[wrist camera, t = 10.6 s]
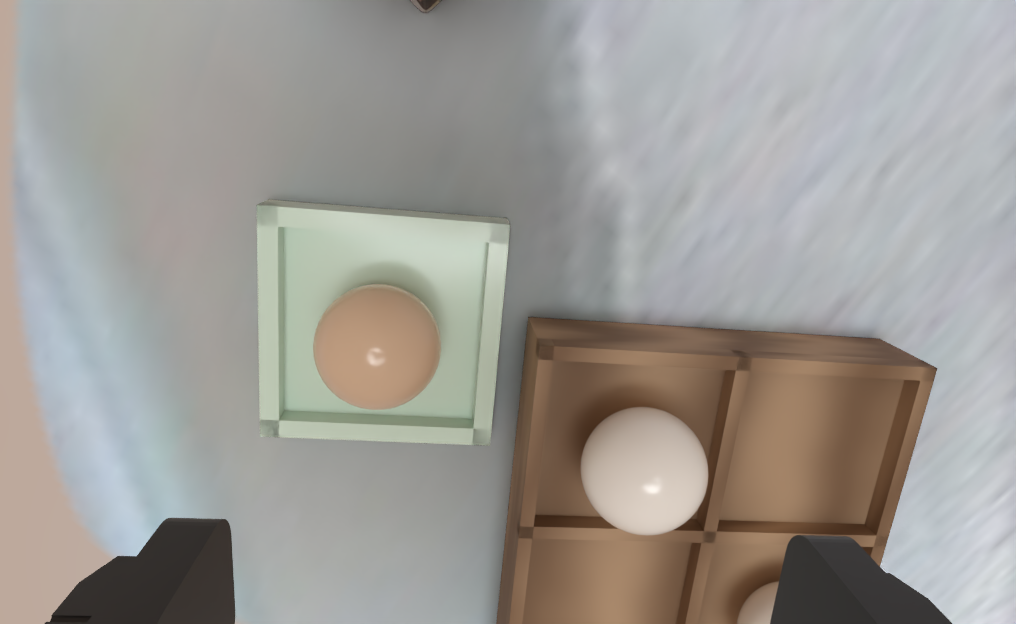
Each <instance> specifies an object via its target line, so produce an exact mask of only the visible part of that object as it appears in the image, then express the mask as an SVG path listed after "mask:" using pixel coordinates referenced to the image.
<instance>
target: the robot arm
mask: <svg viewBox="0 0 1016 624" xmlns="http://www.w3.org/2000/svg"><path fill="white" fill-rule="evenodd" d="M45 624H235V599H234V580H233V560H232V541H231V530H230V525H229V523H228V521H227V520H226V519H195V518H168V519H166V520H164V521H163V522H162V524H161V525H160V526H159V527H158V529H157V530H156V531H155V533H154V534H153V535H152V537H151V538H150V539H149V541H148V542H147V543H146V545H145V546H144V547H143V549H142V550H141V551H140V553H139V554H138V555H137V556H117V557H116V558H114V559H113V560H112V561H110V562H109V563H107V564H106V565H104V566H103V567H101V568H100V569H98V570H97V571H95V572H94V573H93V574H91V575H89V576H88V577H87V578H85V579H84V580H82V581H81V582H79V583H78V584H77V586H76V587H75V588H74V589H73V590H72V592H71V593H70V594H69V595H68V597H67V598H66V599H65V600H64V601H63V602H62V604H61V605H60V606H59V607H58V609H57V610H56V611H55V612H54V613H53V615H52V618H51V621H50V622H46V623H45ZM770 624H952V623H951V622H950V621H949V620H948V619H947V618H946V617H945V616H944V615H943V614H942V613H941V612H940V611H939V609H938V608H937V607H936V606H935V605H934V604H933V603H932V602H931V601H930V600H929V599H928V598H926V597H925V596H923V595H922V594H920V593H919V592H917V591H916V590H914V589H913V588H911V587H910V586H908V585H907V584H905V583H904V582H902V581H901V580H899V579H898V578H896V577H895V576H893V575H892V574H890V573H885V572H884V571H883V570H882V569H881V568H880V567H879V565H878V564H877V563H876V562H875V561H874V560H873V559H872V558H871V557H870V556H869V555H868V554H867V553H866V551H865V550H864V549H863V548H862V547H861V546H860V545H859V544H858V543H857V542H856V541H855V540H854V539H852V538H850V537H847V536H818V535H796V536H794V537H792V538H791V540H790V541H789V543H788V545H787V548H786V552H785V557H784V561H783V566H782V570H781V575H780V579H779V584H778V589H777V593H776V598H775V602H774V607H773V611H772V616H771V621H770Z"/></svg>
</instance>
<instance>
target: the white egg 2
mask: <svg viewBox="0 0 1016 624" xmlns="http://www.w3.org/2000/svg"><path fill="white" fill-rule="evenodd" d="M778 584H779V581H777V582H772V583H769V584H766V585H764V586H762V587H760V588H758V589H757V590H755V591H754V592H753V593H752V594H751V595H750V596H749V597H748V598H747V599H746V601H745V602H744V604H743V606H742V607H741V610H740V612H739V616H738V619H737V624H770V621H771V616H772V611H773V607H774V602H775V598H776V593H777V589H778Z"/></svg>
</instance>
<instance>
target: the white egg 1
mask: <svg viewBox="0 0 1016 624" xmlns="http://www.w3.org/2000/svg"><path fill="white" fill-rule="evenodd" d="M581 479H582V483H583V487H584V490H585V493H586V495H587V497H588V499H589V501H590V503H591V505H592V506H593V507H594V509H595V510H596V511H597V512H598V513H599V515H600V516H601V517H602V518H604V519H605V520H606V521H607V522H609V523H610V524H611V525H613V526H614V527H616V528H618V529H620V530H623V531H625V532H628V533H631V534H636V535H647V536H648V535H659V534H663V533H667V532H669V531H672V530H674V529H676V528H678V527H680V526H681V525H683V524H684V523H685V522H687V521H688V520H689V519H690V518H691V517H692V516H693V515H694V514H695V512H696V511H697V510H698V508H699V506H700V504H701V503H702V501H703V499H704V496H705V493H706V489H707V484H708V464H707V459H706V455H705V452H704V449H703V447H702V445H701V443H700V441H699V439H698V438H697V436H696V435H695V434H694V432H693V431H692V430H691V429H690V428H689V427H688V426H687V425H686V424H685V423H684V422H683V421H681V420H680V419H679V418H677V417H676V416H674V415H672V414H670V413H668V412H666V411H663V410H660V409H656V408H651V407H633V408H627V409H623V410H620V411H618V412H615V413H613V414H612V415H610V416H608V417H607V418H605V419H604V420H603V421H602V422H600V423H599V424H598V425H597V427H596V428H595V429H594V430H593V431H592V433H591V434H590V436H589V437H588V439H587V441H586V444H585V446H584V449H583V453H582V457H581Z"/></svg>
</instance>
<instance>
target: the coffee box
mask: <svg viewBox="0 0 1016 624" xmlns="http://www.w3.org/2000/svg"><path fill="white" fill-rule="evenodd" d="M411 1H412V3H413V4H414V5H415V6H416V7H417V8H418V9H419V10H420V11H422V12H425V13H426V12H429V11H430V10H432V9H433V8H434V7H435V6H436V5H437V4H438V3H439V2H440V1H441V0H411Z"/></svg>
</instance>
